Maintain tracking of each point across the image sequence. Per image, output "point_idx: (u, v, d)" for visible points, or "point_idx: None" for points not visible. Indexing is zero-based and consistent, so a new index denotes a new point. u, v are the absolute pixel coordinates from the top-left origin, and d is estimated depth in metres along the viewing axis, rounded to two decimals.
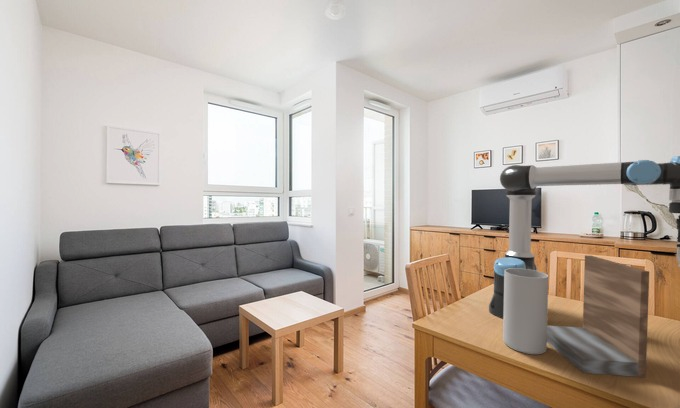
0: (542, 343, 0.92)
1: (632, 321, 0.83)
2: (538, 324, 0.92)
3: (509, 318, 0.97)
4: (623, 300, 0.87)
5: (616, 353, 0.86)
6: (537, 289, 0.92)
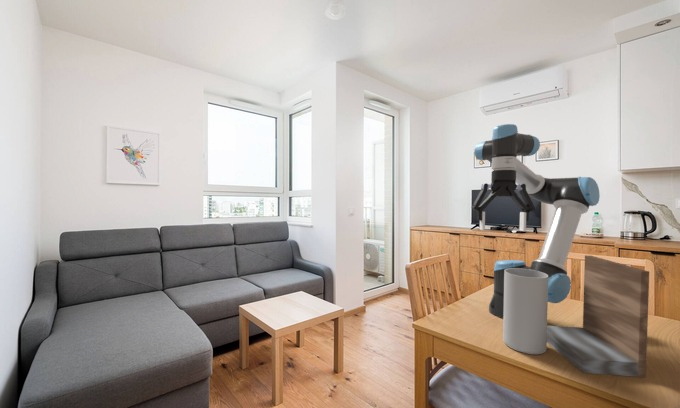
0: (542, 343, 0.92)
1: (632, 321, 0.83)
2: (538, 324, 0.92)
3: (509, 318, 0.97)
4: (623, 300, 0.87)
5: (616, 353, 0.86)
6: (537, 289, 0.92)
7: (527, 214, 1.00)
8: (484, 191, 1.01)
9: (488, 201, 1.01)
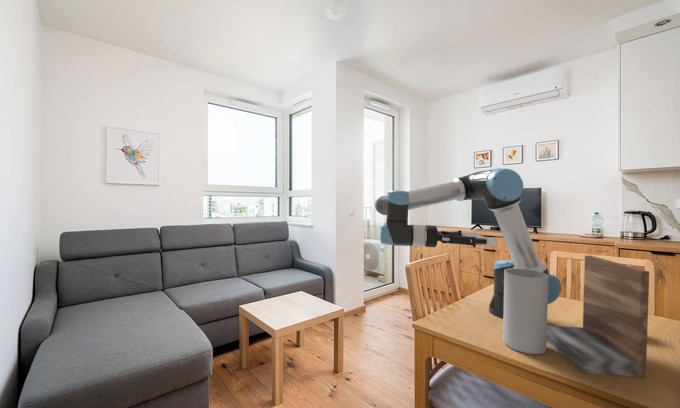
0: (542, 343, 0.92)
1: (632, 321, 0.83)
2: (538, 324, 0.92)
3: (509, 318, 0.97)
4: (623, 300, 0.87)
5: (616, 353, 0.86)
6: (537, 289, 0.92)
7: None
8: None
9: None
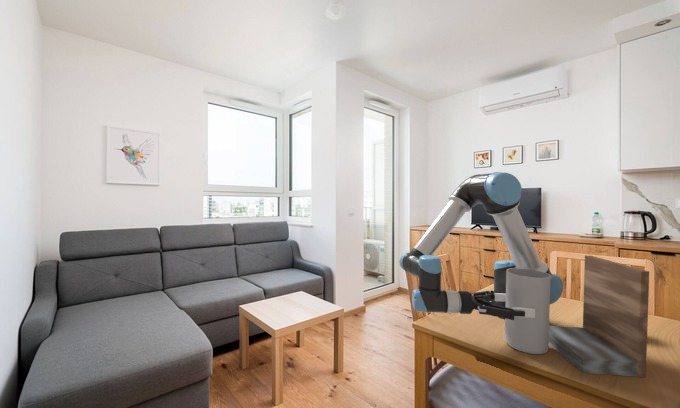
0: (543, 343, 0.92)
1: (632, 321, 0.83)
2: (539, 324, 0.92)
3: None
4: (623, 300, 0.87)
5: (616, 353, 0.86)
6: (537, 289, 0.92)
7: None
8: None
9: None
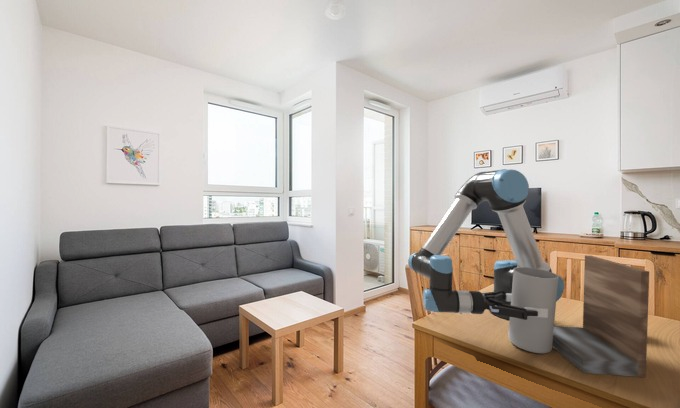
0: (543, 343, 0.92)
1: (632, 321, 0.83)
2: (539, 323, 0.92)
3: None
4: (623, 300, 0.87)
5: (616, 353, 0.86)
6: (540, 289, 0.91)
7: None
8: None
9: None
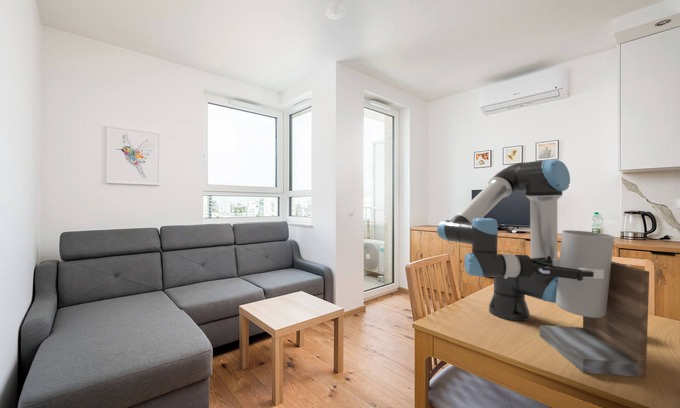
0: (598, 306, 0.87)
1: (632, 321, 0.83)
2: (594, 285, 0.87)
3: (561, 278, 0.93)
4: (623, 300, 0.87)
5: (616, 353, 0.86)
6: (595, 248, 0.86)
7: None
8: None
9: None
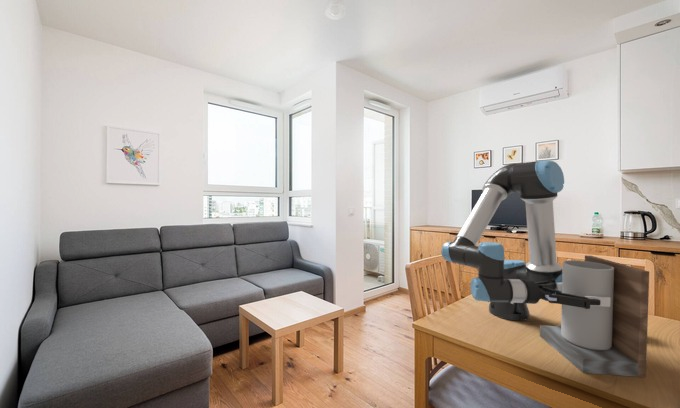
0: (603, 339, 0.87)
1: (632, 321, 0.83)
2: (598, 318, 0.87)
3: (565, 310, 0.93)
4: (623, 300, 0.87)
5: (616, 353, 0.86)
6: (596, 281, 0.87)
7: None
8: None
9: None
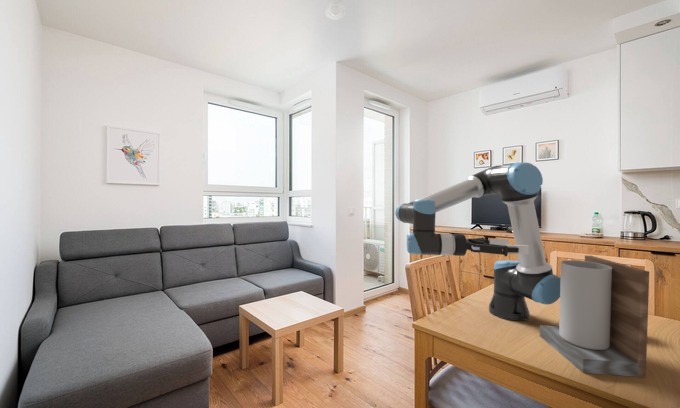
0: (603, 339, 0.87)
1: (632, 321, 0.83)
2: (598, 318, 0.87)
3: (565, 310, 0.93)
4: (623, 300, 0.87)
5: (616, 353, 0.86)
6: (597, 281, 0.87)
7: (510, 252, 0.91)
8: None
9: None
